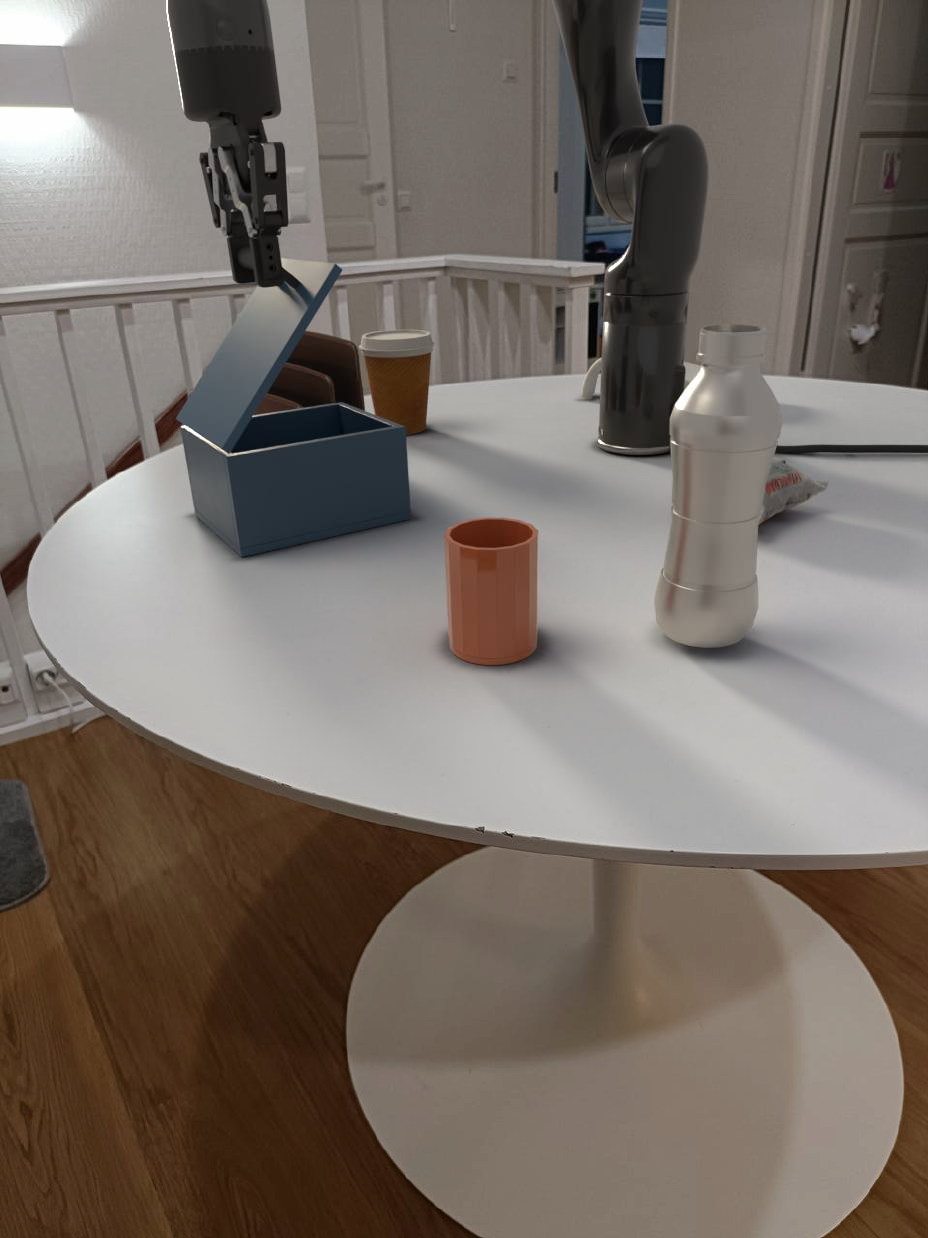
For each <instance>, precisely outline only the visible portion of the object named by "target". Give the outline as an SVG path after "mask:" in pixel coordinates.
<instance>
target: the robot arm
mask: <svg viewBox="0 0 928 1238" xmlns="http://www.w3.org/2000/svg"><path fill="white" fill-rule="evenodd" d="M165 2H166V15H167V22H168V27H169V33H170V39H171V45H172V51H173V57H174V63H175V69H176V74H177V80H178V88H179V93H180V100H181V104H182V111H183V114H184V116H185V117H186V119H187V120H189V121H191V122H195V123H207V125H208V127H209V130H208V131H209V148H208V150H207V151H205V152H200V153H199V158H198V161H199V164H200V167H201V172H202V176H203V181H204V185H205V190H206V194H207V198H208V202H209V208H210V212H211V216H212V223H213V225H214V227H215V228H216V229H220V231H221V233H222V235H223V237H226V244H227V250H228V256H229V263H230V269H231V275H232V280H233V281H234V283H236V284H240V285H243V284H245V285H246V284H253V283H255V284H256V287H257V286H259V287H263V288H267V287H276V286H281V285H282V284H283V282H284V278H283V270H282V263H281V258H282V255H281V249H280V248H281V247H280V242H279V241H280V240H279V236H281V234H282V228H287V227H288V226H289V202H288V183H287V181H288V179H287V163H286V162H287V161H286V148H285V145H284V143H283V142H282V141H270V142H269V141H268V137H267V134H266V131H265V127H264V122H263V121H265V120H271V119H275V118H277V117H279V116H280V114H281V112H282V102H281V93H280V86H279V78H278V71H277V62H276V55H275V46H274V38H273V30H272V23H271V15H270V9H269V4H268V0H166V1H165ZM550 2H551V6H552V8H553V12H554V15H555V18H556V22H557V25H558V29H559V34H560V37H561V38H560V39H561V41H562V45H563V49H564V53H565V57H566V60H567V65H568V69H569V73H570V75H571V80H572V84H573V88H574V92H575V96H576V101H577V105H578V106H577V107H578V110H579V115H580V121H581V127H582V134H583V139H584V145H585V150H586V156H587V157H586V158H587V162H588V167H589V168H588V169H589V173H590V178H591V182H592V186H593V191H594V193H595V196H596V199H597V201H598V204H599V205H600V207H601V208H602V210H603V211H604V213H605V214H606V215H607V216H608V217H610V218H611V219H612V220H614V221H616V222H618V223H622V224H629V225H632V226H631V233H630V241H629V244H628V246H627V248H626V250H625V251H624V253H623V254H622V255H621V256H620V257H618V258H617V259H616V260H614V261H612V262H610V263H609V264H608V265H607V267H606V268H605V271H604V283H603V310H602V311H603V312H602V313H603V314H602V337H601V338H602V339H601V357H602V361H601V371H600V391H599V416H598V417H599V418H598V436H597V447H599V448H600V449H602V450H604V451H606V452H610V453H614V454H619V455H627V456H653V455H661V454H665V453H671V447H670V437H671V436H670V417H671V414H672V411H673V409H674V406H675V403H676V402H677V400H678V399H679V397H680V396H681V395H682V393H683V392H684V386H685V373H686V368H685V366H684V361H685V352H686V338H687V326H688V325H687V324H688V312H689V311H688V310H689V299H690V289H691V288H690V287H691V278H692V275H693V273H694V271H695V268H696V266H697V263H698V260H699V257H700V253H701V248H702V247H701V246H702V239H703V231H704V224H705V223H704V222H705V216H706V208H707V201H708V192H709V180H710V179H709V177H710V170H709V169H710V167H709V158H708V151H707V147H706V145H705V142H704V140H703V138H702V137H701V135H700V133H698V131H697V130H696V129H694V128H693V127H691V126H689V125H687V124H684V123H665V124H657V125H656V124H655V125H649V124H650V123H649V121H648V119H647V115H646V112H645V108H644V104H643V100H642V96H641V92H640V91H641V90H640V86H639V81H638V76H637V75H638V74H637V64H636V59H637V58H636V57H637V55H636V54H637V42H638V34H639V28H640V23H641V16H642V10H643V4H644V0H550ZM246 246H247V247H250V249H251V255H252V262H253V269H254V270H251V269H245V268H243V267H242V266H241V265H240V264H239V262H238V259H237V254H238V251H239V250H240V249H241V248H242V247H246ZM815 453H818V454H819V453H820V454H821V453H827V454H828V453H829V454H830V453H831V454H832V453H833V454H928V444H823V443H821V444H802V445H801V444H798V445H778V444H777V447H776V450H775V454H785V455H793V454H794V455H795V454H815Z"/></svg>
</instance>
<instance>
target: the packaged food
mask: <svg viewBox="0 0 928 1238" xmlns="http://www.w3.org/2000/svg"><path fill="white" fill-rule="evenodd" d="M786 462H787V461H786V459H785V460H784V459H774V458H773V461H772V464H771V468H770V471H769V475H768V478H767V482H766V487H765V493H764V498H763V503H762V506H761V508H760V512H761V514H760V519H759V525H761V524H762V523H764V522H766V521H767V520H769V519H771V518H772V517H775V516H778V515H781V514H782V513H783V514H784V512H786V511H788V510H790V509H791V508H793V507H796V506H799V505H801V504H804V503H806V502H808V501H810V499H812V498H813V497H814V496H817V495H818V494H820V493H823V492H824V491H825V490H827V488H828V486H829V481H827V480H823V479H813V478H811V477H809V476H808V475H805V474H804V473H803V472H802V471H799V470H798V469H796V468H794V467H792V466H791V465H789V464H787V463H786Z"/></svg>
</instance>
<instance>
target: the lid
mask: <svg viewBox="0 0 928 1238" xmlns="http://www.w3.org/2000/svg"><path fill="white" fill-rule="evenodd" d="M237 259H238V262H239V264H240V265H241V266H242V267H243V268H245V269H251V270H254V269H253V262H252V255H251V249H250V247H247V246H246V247H242V248H241V249H240V250H239V251H238V254H237ZM281 263H282V270H283V278H284V282H283V284H282V285H281V286H276V287H267V288H263V287H259V286H257V285H256V287H255V288H254V290H253V292H252V293H251V295H250V296H249V299H248V300H247V301H246V303H245V305H244V307H243V308H242V310H241V312H240V313H239V315H238V316H237V318H236V320H235V321H234V323H233V325H232V326H231V328H230V329H229V331H228V332H227V334H226V336H225V337H224V339H223V340H222V342H221V344H220V346H219V347H218V349H217V350H216V352H215V354H214V356H213V357H212V359H211V361H210V362H209V364H208V365H207V367H206V369H205V370H204V372H203V373H202V375H201V377H200V378H199V380H198V382H197V383H196V385H195V387H194V388H193V389H194V390H193V391H192V393H191V395H190V396H189V398H188V397H187V400H186V401H185V403H184V405H183V406H182V408H181V409H180V410H179V412H178V414H177V416H176V418H175V420H176V421H178V422H179V423H181V424H182V425H183V426H187V427H188V428H190V429H192V430H193V431H195V432H196V433H198V434H199V435H201V436H202V437H204V438H205V439H207V440H208V441H210V442H211V443H213V444H215V445H216V446H218V447H219V448H221V449H222V450H224V451H225V452H227V453H229V454H230V452H231V451H232V449H233V448H234V446H235V444H236V443H237V441H238V439H239V438H240V436H241V435H242V433H243V431H244V430H245V428H246V426H247V425H248V423H249V422H250V420H251V418H252V417H253V415H254V413H255V412H256V410H257V409H258V407H259V405H260V404H261V402H262V400H263V399H264V397H265V395H266V394H267V392H268V391H269V389H270V387H271V386H272V384H273V382H274V381H275V379H276V378H277V376H278V374H279V373H280V371H281V369H282V368H283V366H284V365H285V363H286V361H287V360H288V358H289V356H290V355H291V353H292V352H293V350H294V348H295V347H296V345H297V343H298V342H299V340H300V339H301V337H302V335H303V334H304V332H305V331H307V329H308V328H309V326H310V324H311V322H312V321H313V319H314V317H315V316H316V314H317V312H318V311H319V309H320V308H321V306H322V305H323V303H324V301H325V300H326V298H327V296H328V295H329V293H330V291H331V290H332V288H333V286H334V285H335V284H336V281H337V280H338V279H339V277H340V275H341V274H342V272H343V268H341V266H339V265H338V264H337V263H333V262H322V261H312V260H305V259H304V260H303V259H292V258H284V257H281Z"/></svg>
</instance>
